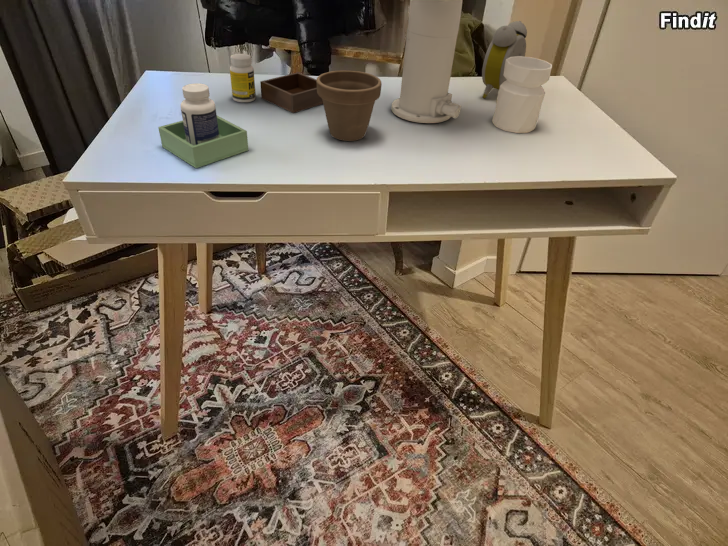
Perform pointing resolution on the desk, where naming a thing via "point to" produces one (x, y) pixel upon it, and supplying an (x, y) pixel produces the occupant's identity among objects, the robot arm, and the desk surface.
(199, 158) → the green tray
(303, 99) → the walnut tray
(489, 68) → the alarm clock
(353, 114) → the flower pot
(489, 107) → the desk surface
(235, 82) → the supplement bottle
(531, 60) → the vase
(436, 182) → the desk surface
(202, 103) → the pill bottle
